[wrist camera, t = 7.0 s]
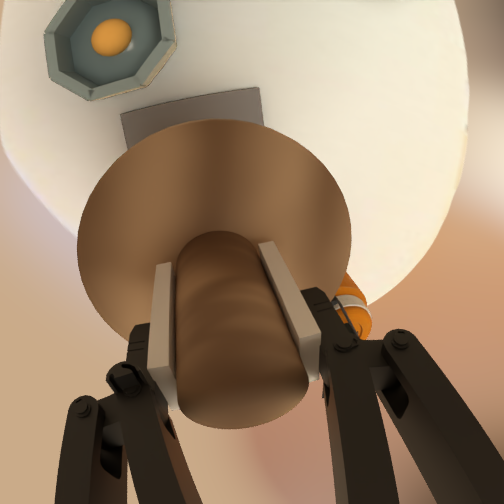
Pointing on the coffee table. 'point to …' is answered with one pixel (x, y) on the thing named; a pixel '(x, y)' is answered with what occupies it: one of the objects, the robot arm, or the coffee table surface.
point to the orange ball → (111, 37)
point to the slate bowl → (104, 67)
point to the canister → (352, 308)
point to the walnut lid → (216, 257)
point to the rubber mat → (192, 112)
